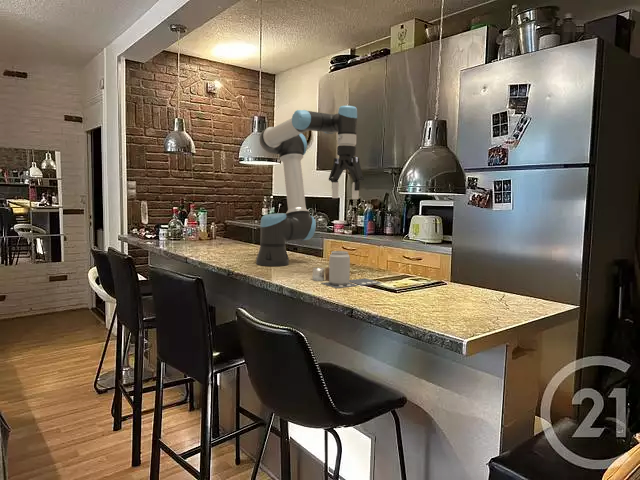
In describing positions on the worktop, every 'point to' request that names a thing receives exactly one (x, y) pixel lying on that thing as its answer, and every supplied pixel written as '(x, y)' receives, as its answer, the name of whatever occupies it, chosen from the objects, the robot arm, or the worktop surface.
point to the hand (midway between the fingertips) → (344, 198)
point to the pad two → (339, 285)
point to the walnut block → (327, 274)
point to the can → (339, 268)
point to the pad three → (364, 282)
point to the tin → (318, 274)
